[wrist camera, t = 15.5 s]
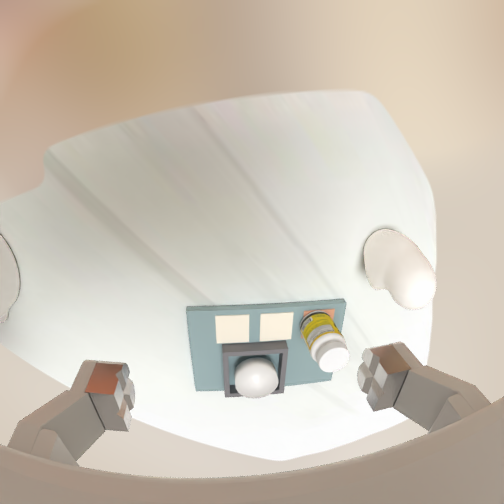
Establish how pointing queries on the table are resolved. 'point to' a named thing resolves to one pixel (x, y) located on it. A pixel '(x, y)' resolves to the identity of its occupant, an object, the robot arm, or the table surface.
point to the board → (255, 342)
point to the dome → (255, 377)
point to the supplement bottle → (324, 341)
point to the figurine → (399, 269)
